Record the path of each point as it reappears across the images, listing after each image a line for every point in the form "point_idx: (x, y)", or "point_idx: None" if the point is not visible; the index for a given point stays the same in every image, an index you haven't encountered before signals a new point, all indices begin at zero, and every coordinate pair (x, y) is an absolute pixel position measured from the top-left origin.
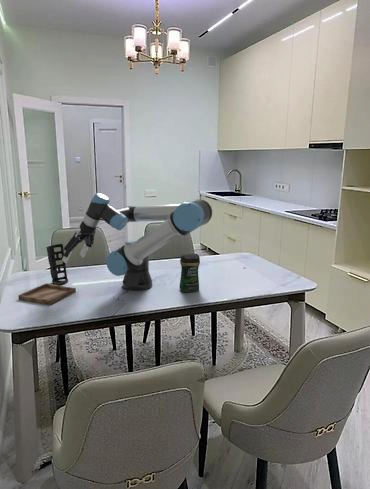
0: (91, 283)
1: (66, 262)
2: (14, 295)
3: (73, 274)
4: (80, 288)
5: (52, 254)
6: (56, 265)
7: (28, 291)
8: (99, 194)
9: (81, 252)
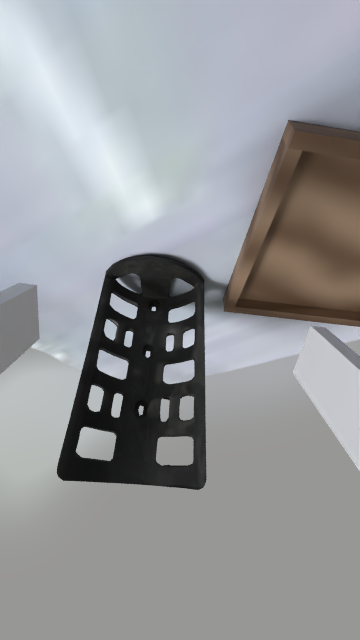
0: (83, 98)
1: (327, 331)
2: None
3: (29, 280)
4: (208, 128)
5: (133, 423)
6: (129, 357)
7: (327, 320)
8: None
9: (18, 345)
